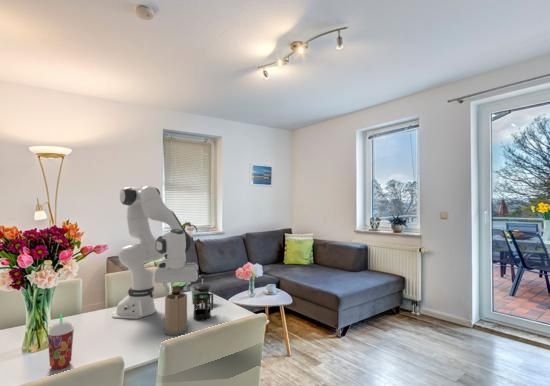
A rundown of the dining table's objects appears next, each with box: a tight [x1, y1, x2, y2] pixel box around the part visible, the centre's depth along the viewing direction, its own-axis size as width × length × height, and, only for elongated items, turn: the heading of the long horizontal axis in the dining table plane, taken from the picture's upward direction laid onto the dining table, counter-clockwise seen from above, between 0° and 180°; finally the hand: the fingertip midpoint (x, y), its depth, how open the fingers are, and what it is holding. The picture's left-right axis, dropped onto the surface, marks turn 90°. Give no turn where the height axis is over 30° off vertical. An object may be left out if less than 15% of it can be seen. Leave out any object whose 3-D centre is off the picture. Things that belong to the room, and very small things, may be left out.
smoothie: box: [47, 313, 75, 370], centre depth 119 cm, size 8×8×20 cm
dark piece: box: [189, 286, 210, 305], centre depth 188 cm, size 12×6×10 cm, turn 88°
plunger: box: [171, 284, 181, 299], centre depth 150 cm, size 7×7×16 cm
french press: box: [192, 274, 214, 322], centre depth 167 cm, size 12×9×23 cm
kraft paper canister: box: [163, 292, 189, 337], centre depth 151 cm, size 11×13×17 cm
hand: (176, 291), depth 150 cm, fingers open, 7 cm apart
